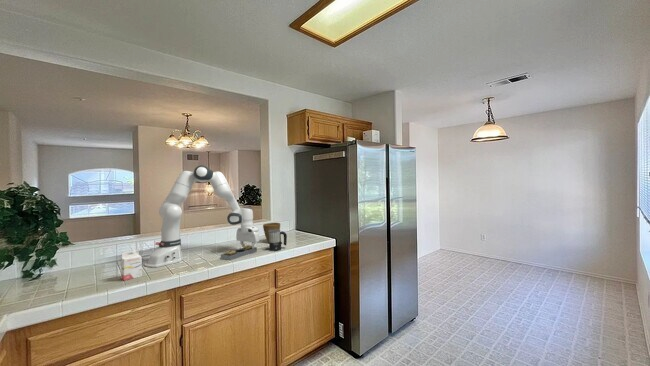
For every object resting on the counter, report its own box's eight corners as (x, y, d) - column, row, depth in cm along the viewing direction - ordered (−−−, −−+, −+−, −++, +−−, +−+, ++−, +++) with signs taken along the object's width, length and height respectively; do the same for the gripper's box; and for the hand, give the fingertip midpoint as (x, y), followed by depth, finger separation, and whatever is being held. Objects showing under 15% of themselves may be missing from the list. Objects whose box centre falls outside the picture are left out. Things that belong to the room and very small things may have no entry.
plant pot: (265, 240, 236) (265, 222, 236) (282, 240, 235) (282, 222, 235) (261, 244, 221) (260, 225, 221) (278, 244, 220) (278, 225, 220)
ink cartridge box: (124, 281, 144) (123, 253, 144) (121, 279, 147) (120, 252, 147) (142, 276, 150) (141, 250, 150) (139, 274, 154) (138, 249, 154)
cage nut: (247, 253, 192) (247, 246, 192) (243, 252, 195) (243, 246, 195) (252, 251, 196) (252, 245, 196) (248, 251, 199) (247, 244, 199)
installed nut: (230, 259, 178) (230, 252, 178) (225, 258, 181) (225, 251, 181) (235, 257, 182) (235, 250, 182) (231, 256, 185) (230, 249, 185)
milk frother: (272, 252, 197) (271, 232, 197) (263, 248, 209) (262, 229, 209) (288, 248, 205) (288, 229, 205) (279, 245, 218) (278, 227, 218)
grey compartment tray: (230, 261, 175) (229, 256, 175) (220, 259, 180) (220, 254, 180) (256, 252, 197) (256, 247, 197) (248, 250, 202) (247, 246, 202)
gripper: (234, 228, 198) (234, 247, 198) (254, 230, 188) (254, 249, 188) (240, 227, 203) (240, 245, 203) (260, 228, 193) (261, 247, 193)
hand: (247, 247), depth 196 cm, fingers open, 8 cm apart
